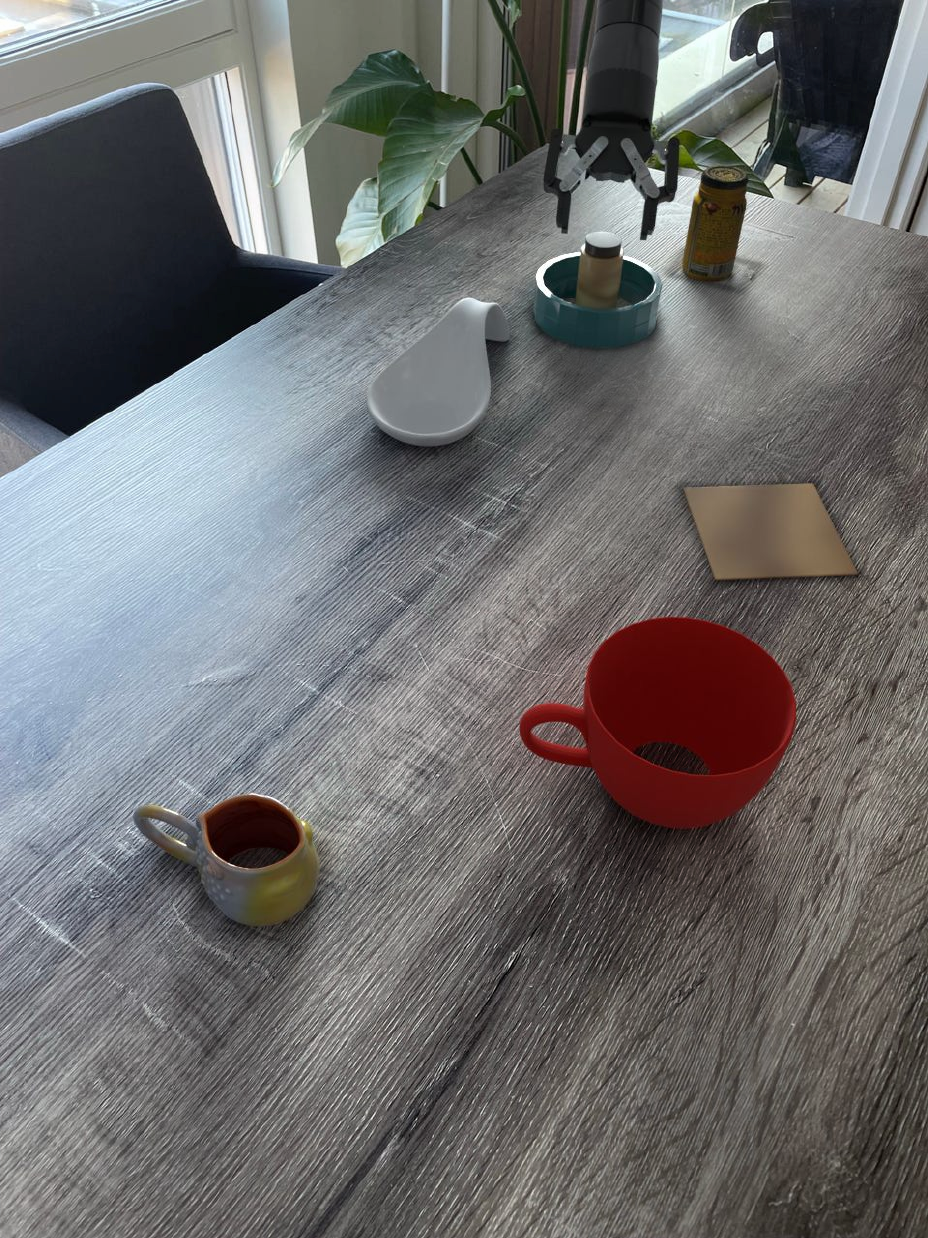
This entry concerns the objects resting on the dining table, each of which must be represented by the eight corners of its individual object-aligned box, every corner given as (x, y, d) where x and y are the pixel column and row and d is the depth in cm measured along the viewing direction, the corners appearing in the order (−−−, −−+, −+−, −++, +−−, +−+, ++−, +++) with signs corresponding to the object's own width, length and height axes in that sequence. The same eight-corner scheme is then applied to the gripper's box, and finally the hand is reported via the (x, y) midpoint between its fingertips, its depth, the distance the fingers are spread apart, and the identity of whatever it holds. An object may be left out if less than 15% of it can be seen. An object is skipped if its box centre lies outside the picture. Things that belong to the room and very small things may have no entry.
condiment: (687, 256, 123) (705, 156, 115) (755, 271, 121) (778, 170, 112) (668, 281, 119) (686, 179, 110) (738, 297, 116) (761, 194, 108)
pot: (642, 291, 117) (648, 250, 113) (666, 352, 108) (674, 310, 104) (526, 293, 116) (529, 252, 113) (541, 356, 107) (544, 313, 103)
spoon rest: (465, 476, 92) (466, 410, 87) (348, 449, 95) (342, 384, 90) (538, 349, 108) (543, 287, 103) (436, 329, 110) (436, 267, 105)
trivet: (810, 491, 91) (813, 482, 90) (855, 582, 83) (858, 573, 82) (680, 496, 91) (682, 487, 90) (713, 588, 82) (715, 579, 81)
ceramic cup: (504, 718, 72) (510, 622, 65) (733, 706, 73) (764, 611, 66) (524, 878, 63) (534, 788, 56) (785, 862, 64) (827, 772, 57)
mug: (341, 859, 64) (332, 800, 59) (290, 953, 60) (276, 898, 55) (180, 801, 67) (160, 740, 62) (120, 886, 63) (93, 828, 58)
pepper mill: (611, 306, 113) (621, 229, 107) (618, 327, 110) (629, 248, 104) (571, 307, 113) (578, 229, 106) (577, 328, 110) (585, 249, 103)
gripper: (555, 60, 104) (537, 215, 105) (692, 68, 103) (674, 226, 103) (555, 97, 112) (538, 242, 112) (683, 105, 110) (666, 252, 111)
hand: (604, 234), depth 108 cm, fingers open, 8 cm apart
